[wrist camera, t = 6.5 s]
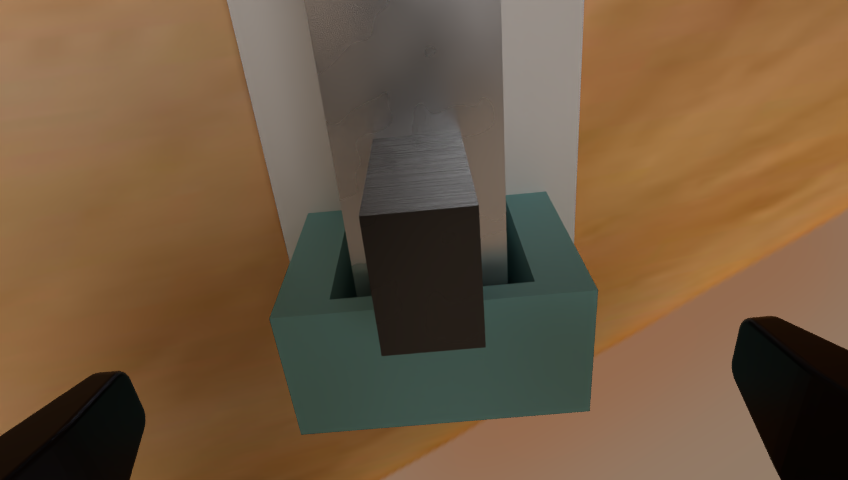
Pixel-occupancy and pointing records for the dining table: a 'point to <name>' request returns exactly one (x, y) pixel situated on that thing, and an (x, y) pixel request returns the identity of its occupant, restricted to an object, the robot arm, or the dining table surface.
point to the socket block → (444, 370)
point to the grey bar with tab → (417, 160)
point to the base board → (522, 96)
